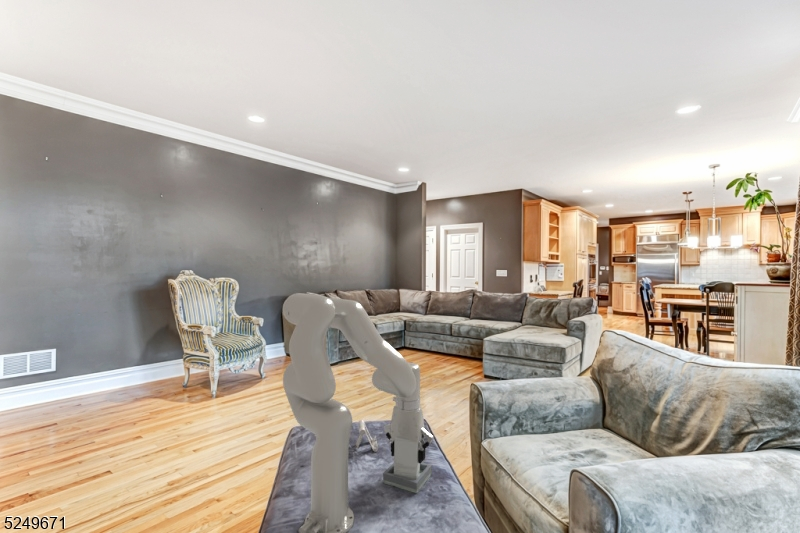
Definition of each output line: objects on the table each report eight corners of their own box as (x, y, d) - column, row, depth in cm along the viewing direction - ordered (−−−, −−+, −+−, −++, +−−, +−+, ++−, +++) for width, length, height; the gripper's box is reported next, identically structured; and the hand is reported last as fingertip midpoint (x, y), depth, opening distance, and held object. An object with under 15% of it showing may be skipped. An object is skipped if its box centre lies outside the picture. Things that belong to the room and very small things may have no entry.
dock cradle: (416, 493, 111) (416, 483, 111) (382, 482, 117) (383, 473, 117) (431, 474, 121) (431, 465, 121) (400, 465, 127) (400, 456, 127)
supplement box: (420, 470, 122) (421, 431, 121) (416, 483, 114) (417, 442, 114) (398, 466, 123) (399, 428, 123) (392, 479, 116) (394, 439, 116)
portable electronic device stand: (378, 451, 137) (378, 428, 137) (356, 453, 135) (356, 429, 135) (375, 440, 145) (376, 419, 145) (355, 442, 144) (355, 420, 144)
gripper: (378, 402, 120) (377, 456, 120) (428, 412, 112) (428, 470, 112) (389, 395, 126) (389, 446, 126) (438, 404, 118) (437, 459, 118)
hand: (407, 457), depth 119 cm, fingers open, 8 cm apart
